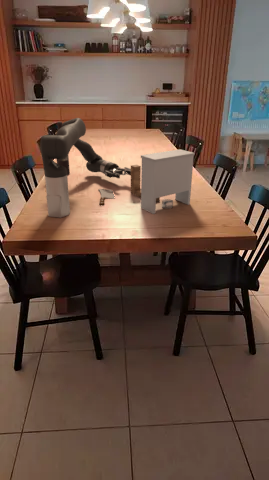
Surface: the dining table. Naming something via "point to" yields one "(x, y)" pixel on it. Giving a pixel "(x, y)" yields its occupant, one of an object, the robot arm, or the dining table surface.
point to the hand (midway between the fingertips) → (126, 175)
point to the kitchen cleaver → (105, 195)
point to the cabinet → (166, 177)
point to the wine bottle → (64, 161)
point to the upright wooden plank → (136, 181)
